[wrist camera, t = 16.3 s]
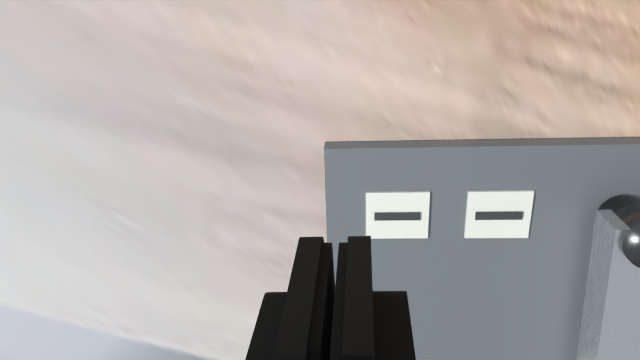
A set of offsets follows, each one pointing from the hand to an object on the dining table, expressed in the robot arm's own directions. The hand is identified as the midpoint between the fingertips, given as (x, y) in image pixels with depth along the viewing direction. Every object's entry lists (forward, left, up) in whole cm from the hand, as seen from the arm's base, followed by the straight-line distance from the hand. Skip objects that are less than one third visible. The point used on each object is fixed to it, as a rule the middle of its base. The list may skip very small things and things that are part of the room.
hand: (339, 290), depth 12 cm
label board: (-9, +13, -24) cm, 29 cm away
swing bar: (-19, +19, -23) cm, 35 cm away
